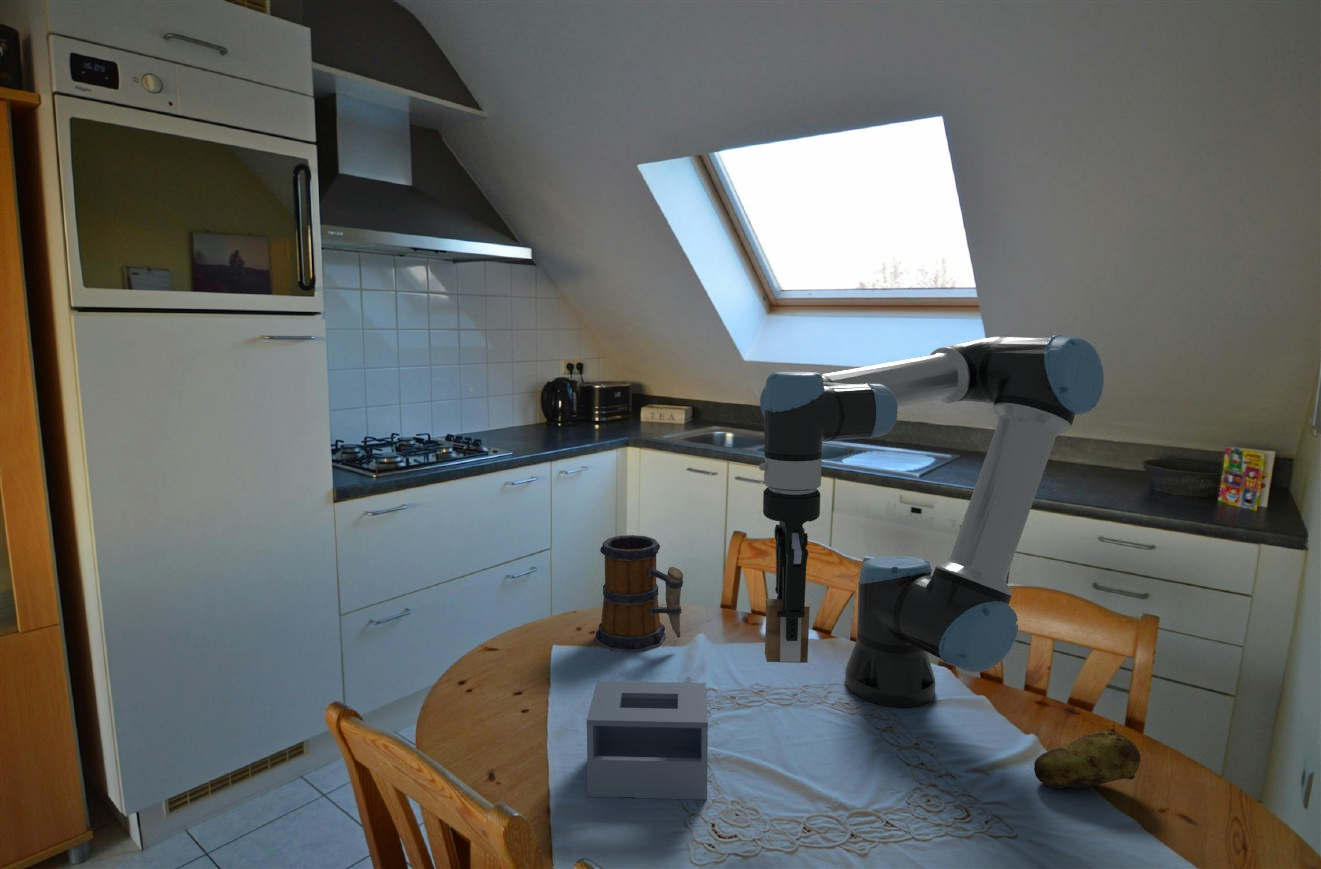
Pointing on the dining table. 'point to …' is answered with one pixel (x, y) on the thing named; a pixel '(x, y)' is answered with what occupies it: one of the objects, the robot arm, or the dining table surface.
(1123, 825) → the dining table surface
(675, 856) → the dining table surface
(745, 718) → the dining table surface
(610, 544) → the mug
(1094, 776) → the potato
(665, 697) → the coin box
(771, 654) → the brown wooden block
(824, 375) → the robot arm
